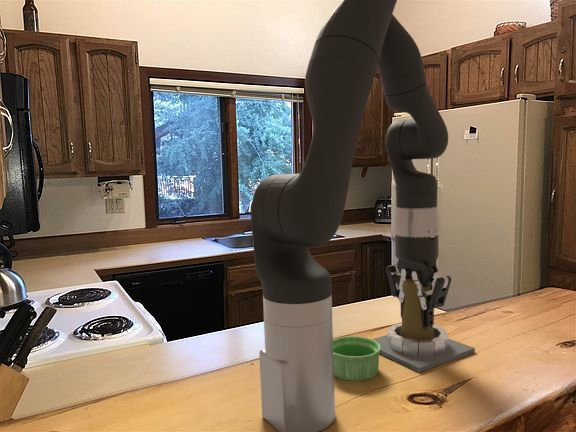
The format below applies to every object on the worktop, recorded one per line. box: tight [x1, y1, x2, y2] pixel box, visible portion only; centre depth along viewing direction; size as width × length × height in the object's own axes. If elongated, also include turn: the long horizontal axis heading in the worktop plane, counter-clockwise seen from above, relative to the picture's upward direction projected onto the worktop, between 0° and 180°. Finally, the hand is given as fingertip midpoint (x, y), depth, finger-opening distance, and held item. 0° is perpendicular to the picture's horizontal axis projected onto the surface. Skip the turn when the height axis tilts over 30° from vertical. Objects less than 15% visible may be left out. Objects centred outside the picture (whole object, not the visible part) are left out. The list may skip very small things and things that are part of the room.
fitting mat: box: [371, 334, 476, 374], centre depth 85 cm, size 14×14×1 cm
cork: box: [400, 279, 434, 340], centre depth 84 cm, size 6×6×11 cm
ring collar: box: [386, 322, 449, 357], centre depth 85 cm, size 10×10×2 cm
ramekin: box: [333, 335, 381, 382], centre depth 77 cm, size 9×9×4 cm
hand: (416, 324), depth 85 cm, fingers closed on cork, 4 cm apart
